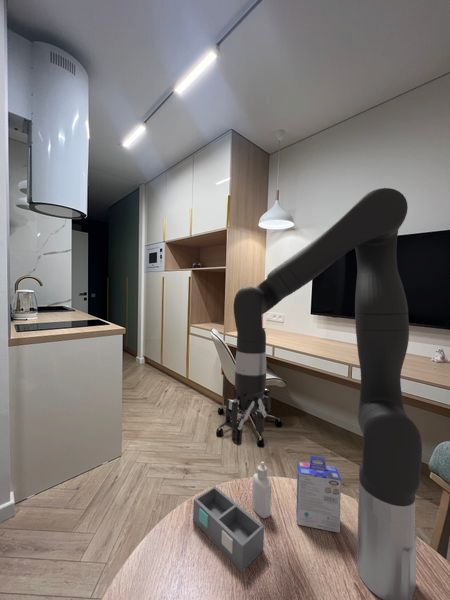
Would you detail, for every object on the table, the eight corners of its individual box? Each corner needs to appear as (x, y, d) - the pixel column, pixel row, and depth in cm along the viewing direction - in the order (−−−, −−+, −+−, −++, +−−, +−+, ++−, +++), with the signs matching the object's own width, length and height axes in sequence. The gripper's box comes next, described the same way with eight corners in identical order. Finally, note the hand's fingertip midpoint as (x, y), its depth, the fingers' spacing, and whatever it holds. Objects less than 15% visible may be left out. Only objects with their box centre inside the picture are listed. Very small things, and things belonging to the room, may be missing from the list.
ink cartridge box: (335, 515, 64) (337, 456, 64) (341, 534, 58) (343, 470, 59) (295, 507, 66) (296, 451, 66) (296, 525, 60) (298, 464, 61)
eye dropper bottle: (268, 502, 67) (269, 456, 67) (270, 520, 61) (272, 470, 62) (251, 500, 67) (253, 455, 68) (252, 518, 62) (254, 468, 62)
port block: (263, 549, 54) (264, 526, 54) (240, 573, 49) (241, 547, 49) (214, 505, 65) (214, 485, 65) (191, 521, 60) (192, 499, 60)
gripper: (243, 378, 54) (241, 456, 53) (280, 368, 64) (278, 433, 63) (218, 371, 59) (216, 442, 59) (256, 362, 69) (254, 423, 69)
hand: (248, 437), depth 61 cm, fingers open, 8 cm apart
